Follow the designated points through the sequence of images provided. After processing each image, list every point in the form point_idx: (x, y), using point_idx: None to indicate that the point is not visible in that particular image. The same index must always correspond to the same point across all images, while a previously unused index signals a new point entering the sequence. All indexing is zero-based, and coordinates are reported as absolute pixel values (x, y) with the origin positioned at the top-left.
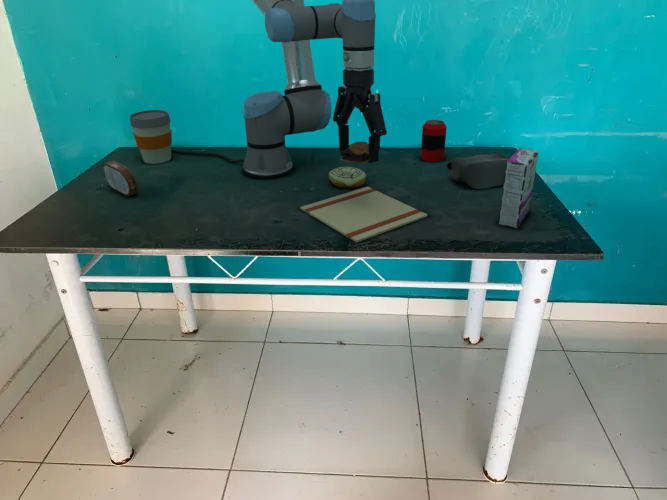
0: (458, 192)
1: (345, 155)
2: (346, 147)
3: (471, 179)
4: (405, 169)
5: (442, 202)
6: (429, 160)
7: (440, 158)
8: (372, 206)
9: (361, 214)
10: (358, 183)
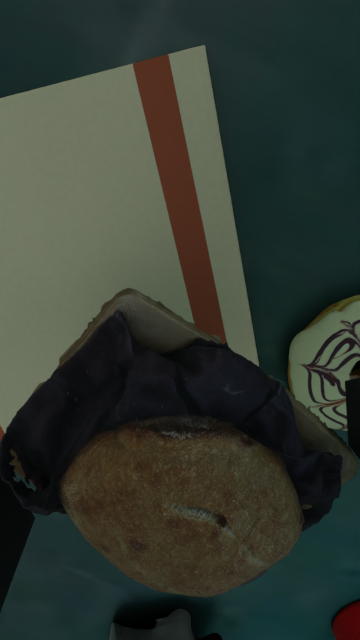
0: (112, 585)
1: (121, 355)
2: (357, 437)
3: None
4: (336, 541)
5: (62, 532)
6: (347, 610)
7: (335, 635)
8: None
9: (28, 279)
10: (288, 377)
